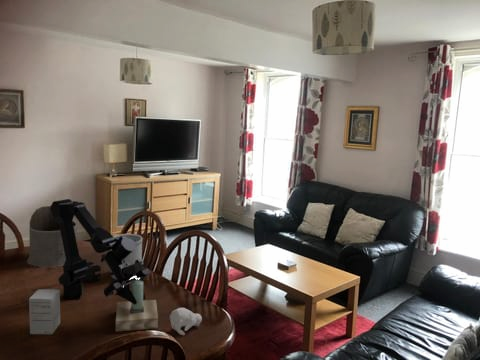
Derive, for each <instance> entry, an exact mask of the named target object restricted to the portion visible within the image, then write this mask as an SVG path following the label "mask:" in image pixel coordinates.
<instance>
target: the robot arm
mask: <svg viewBox="0 0 480 360" xmlns="http://www.w3.org/2000/svg"><path fill="white" fill-rule="evenodd" d="M49 206H50V209H51V212H52V216H53V218H54V219H55V220H56V221H57V222H58V223H59V227H60V232H61V237H62V241H63V246H64V251H65V256H66V261H65V264H64V265H63V266H62V268H63V273H62V274H61V275H60V276H59V277H58V282H59V284H60V285H62V287H63V290H62V291H63V292H62V293H63V295H62V300H63V301H66V300H68V301H69V300H80V299H81V297H82V295H83V293H84V284H83V283H82V281H84V280H86V279H85V277H86V274H87V272H88V270H87V269H88V267H87V259H86V258H85V259H83V258H82V257H81V255H80V252H79V247H78V243H77V241H78V240H77V241H76V236H75V231H74V226H73V221H74V218H76V220H77V221H78V222H79V224H80V225H81V226H82V227H83V229H84V230H85V232H86V233H87V234H88V235H89V237H90V241H89V242H90V245H91V247H92V248H93V250H94V251H95V252H96V253H97V254H101V258H100V263H104V262H105V263H106V264H107V266H108V268H109V269H111V270H110V273H109V274H110V276H113V275H114V276H115V278H116V279H115V280H114V281H112V282H110V283H109V284H107V286H106V287H105V288H104V289H103V294H104V296H105V298H108V297H111V296H112V295H115V296H119V297H121V298H122V299H125V300H126V301H127V302H128V301H130V302H131V303H133V304H137V301H136V299H135V298H134V296H133V294H132V290H131V288H132V285H131V284H132V282H133V281H143V282H144V280H145V278H146V277H147V276H149V275H150V274H151V271H150V269H149V268H148V267H145V262H144V261H143V258H142V259H138V260H135V263H134V264H130V263H129V262H125V260H124V259H125V258H126V257H127V256H128V255H129V254H130V253H132V252H133V251H134V250H135V248H136V244H135V242H134V241H133V240H132V239H130V238H126V236H125V235H123V236H121V237H120V238H119V239H116V238H114V237H113V236H114V235H112V233H110V231H108V230H107V229H106V230H105V229H103V228H102V227H101V225H100V224H99V223H98V222H97V221H96V219H95V218H94V216H93V215H92V214H91V213H90V211H89V210H88V209H87V207H86V204H85V203H84V202H82V201H75V200H74V201H73V200H72V199H69V198H67V199H61V200H54V201H53V202H52V203H51V204H50V205H49ZM111 249H112V250H111ZM110 250H111V251H110ZM111 271H112V272H111ZM134 274H135V275H134ZM130 285H131V286H130ZM130 287H131V288H130ZM114 291H116V293H115V294H114ZM144 300H146V295H145V289H144V288H143V301H144Z"/></svg>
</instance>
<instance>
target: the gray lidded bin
mask: <svg viewBox="0 0 480 360" xmlns="http://www.w3.org/2000/svg"><path fill="white" fill-rule="evenodd" d="M50 206H51V205H46V206H45V205H44V206H41V207H39V208H36V209H35V210H34V211H33V213H32V214H31V215H30V219H29V224H28V225H29V228H28V229H29V256H28V258H27V264H29V265H30V264H31V265H30V266H32V265H34V266H33V267H35V266H39V267H38V268H56V266H57V267H61V266H62V267H63V266H64V264H65V261H66V256H65V251H64V246H63V241H62V237H61V232H60V227H59V223H58V222H57V221H56V220H55V219H54V218H53V216H52V212H51V209H50ZM73 226H74V231H75V236H76V241H78V240H77V238H78V236H77V234H78V233H77V230H78V228H77V227H78V226H77V222H75V221H74V220H73Z"/></svg>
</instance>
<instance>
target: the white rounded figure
mask: <svg viewBox="0 0 480 360" xmlns="http://www.w3.org/2000/svg"><path fill="white" fill-rule="evenodd" d="M169 320H170V325H171V328H172V329H173V330H174V331H176V332H177V333H178V334H179V335H180V336H185V335H186V333H185V332H186V331H188V330H189V329H191V328H192V327H193V326H194V327H196V328H198V327H199V326H200V325H201V323H202V320H203V317H202V315H201V314H199V313H194V312H193V311H191V310H189V309H187V308H185V307H178V308H176V309H174V310H172V312H171V313H170V315H169ZM182 327H184V330H182Z"/></svg>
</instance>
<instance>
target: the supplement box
mask: <svg viewBox="0 0 480 360" xmlns="http://www.w3.org/2000/svg"><path fill="white" fill-rule="evenodd" d="M60 291H61V290H60V289H52V288H51V289H50V288H49V289H42V288H40V289H39V288H38V289H37V290H36V291H35V292H34V293H33V294H32V295H31V296H30V297H29V298H28V303H29V306H28V307H29V309H28V310H29V313H28V315H29V334H31V335H53V334H54V333H55V331H56V329H57V328H58V327H59V326H60V323H61V301H60V299H61V296H60V295H61V292H60Z"/></svg>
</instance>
